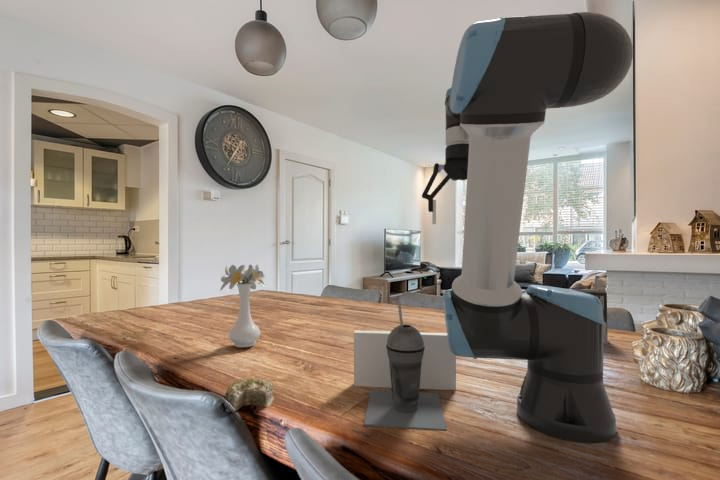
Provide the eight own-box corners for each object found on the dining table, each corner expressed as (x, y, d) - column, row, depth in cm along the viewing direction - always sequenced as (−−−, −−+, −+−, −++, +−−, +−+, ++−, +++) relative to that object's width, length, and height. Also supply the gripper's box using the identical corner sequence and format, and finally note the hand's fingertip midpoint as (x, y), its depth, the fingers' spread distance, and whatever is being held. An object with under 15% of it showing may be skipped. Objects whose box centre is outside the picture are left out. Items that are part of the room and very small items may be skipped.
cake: (220, 400, 73) (220, 374, 73) (269, 390, 78) (269, 365, 78) (226, 422, 64) (226, 392, 64) (281, 410, 69) (281, 382, 69)
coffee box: (606, 339, 115) (606, 289, 115) (607, 344, 110) (607, 292, 110) (573, 335, 120) (573, 287, 120) (573, 340, 115) (573, 290, 115)
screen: (454, 387, 78) (454, 333, 78) (456, 391, 76) (456, 335, 76) (355, 383, 81) (355, 330, 81) (353, 386, 79) (353, 332, 79)
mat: (438, 397, 74) (438, 393, 74) (446, 433, 60) (446, 429, 60) (370, 393, 75) (370, 389, 75) (363, 428, 62) (363, 424, 62)
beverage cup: (424, 418, 63) (424, 306, 63) (383, 414, 65) (383, 304, 65) (425, 400, 70) (425, 299, 70) (388, 397, 72) (388, 298, 72)
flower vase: (263, 334, 122) (263, 261, 122) (266, 351, 104) (266, 265, 104) (222, 338, 118) (222, 262, 117) (219, 355, 100) (218, 266, 100)
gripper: (503, 147, 99) (503, 224, 100) (412, 150, 102) (412, 224, 103) (511, 140, 92) (511, 222, 92) (413, 143, 95) (413, 223, 95)
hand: (459, 224), depth 97 cm, fingers open, 13 cm apart
